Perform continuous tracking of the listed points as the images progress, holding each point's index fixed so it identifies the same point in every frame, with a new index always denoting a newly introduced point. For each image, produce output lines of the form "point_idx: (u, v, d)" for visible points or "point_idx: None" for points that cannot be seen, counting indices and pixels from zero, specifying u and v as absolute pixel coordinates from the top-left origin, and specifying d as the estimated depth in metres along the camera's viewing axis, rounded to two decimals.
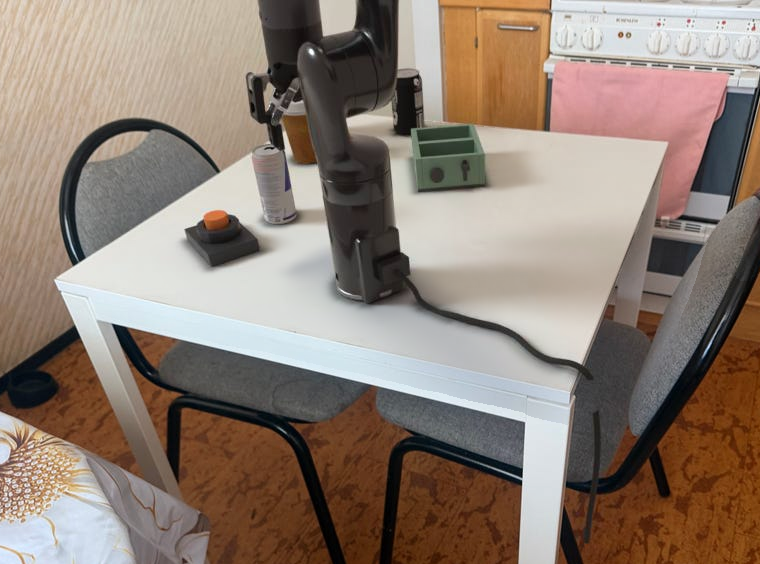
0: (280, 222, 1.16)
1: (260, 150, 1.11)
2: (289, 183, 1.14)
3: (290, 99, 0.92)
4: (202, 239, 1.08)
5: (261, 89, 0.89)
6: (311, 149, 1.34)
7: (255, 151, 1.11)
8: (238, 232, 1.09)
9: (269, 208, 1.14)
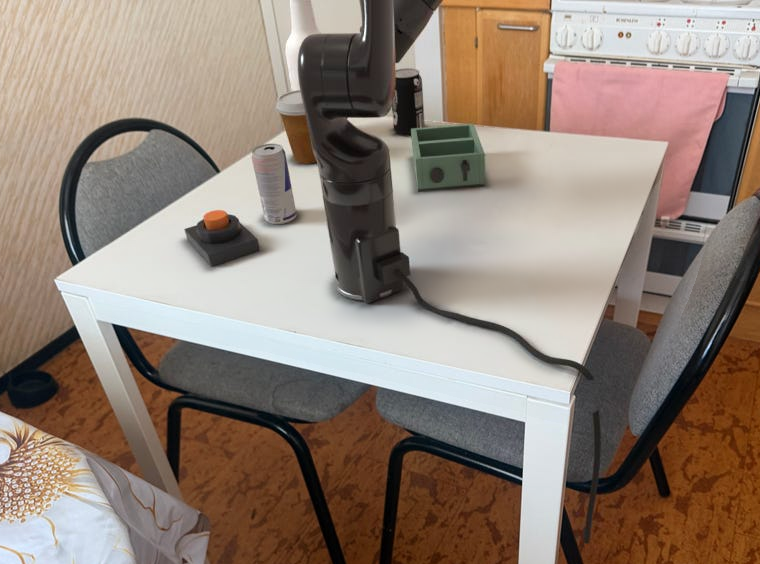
0: (280, 222, 1.16)
1: (260, 150, 1.11)
2: (289, 183, 1.14)
3: None
4: (202, 239, 1.08)
5: None
6: (311, 149, 1.34)
7: (255, 151, 1.11)
8: (238, 232, 1.09)
9: (269, 208, 1.14)
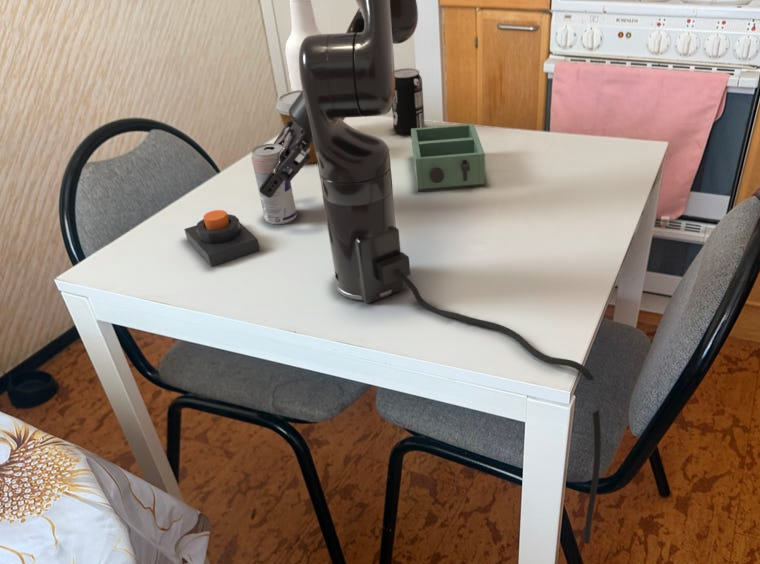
0: (280, 222, 1.16)
1: (260, 150, 1.11)
2: (289, 183, 1.14)
3: (279, 141, 1.12)
4: (202, 239, 1.08)
5: (285, 128, 1.15)
6: (311, 149, 1.34)
7: (254, 151, 1.11)
8: (238, 232, 1.09)
9: (269, 208, 1.14)
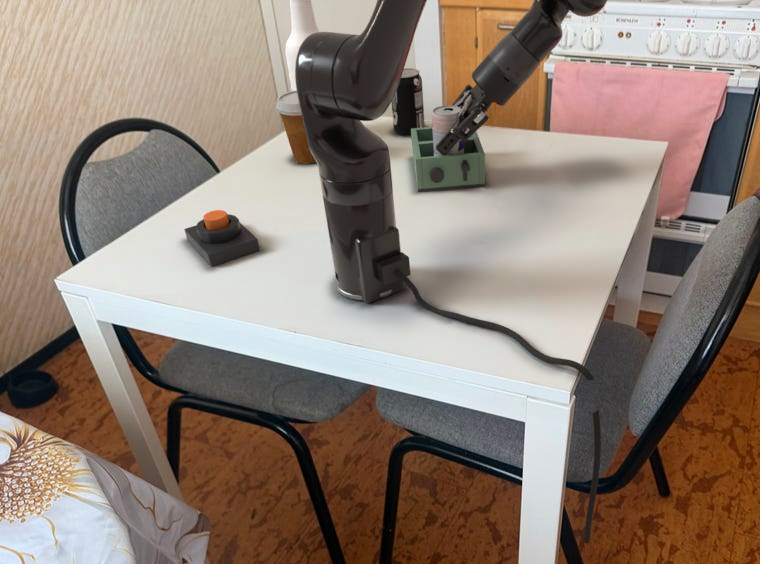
0: None
1: (440, 110, 1.20)
2: (462, 143, 1.22)
3: (458, 103, 1.20)
4: (202, 239, 1.08)
5: (463, 92, 1.23)
6: None
7: (435, 111, 1.20)
8: (238, 232, 1.09)
9: None
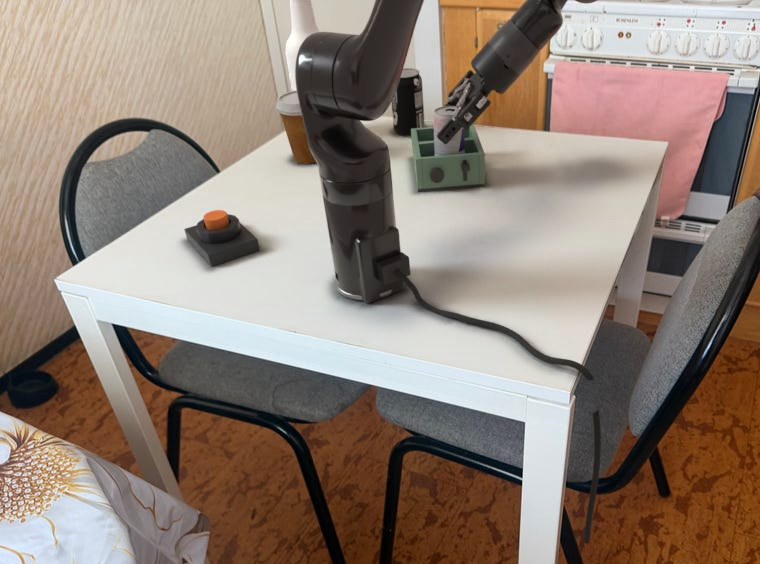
0: None
1: (442, 110, 1.20)
2: (463, 144, 1.22)
3: (458, 90, 1.19)
4: (202, 239, 1.08)
5: (465, 77, 1.22)
6: None
7: (437, 111, 1.20)
8: (238, 232, 1.09)
9: None
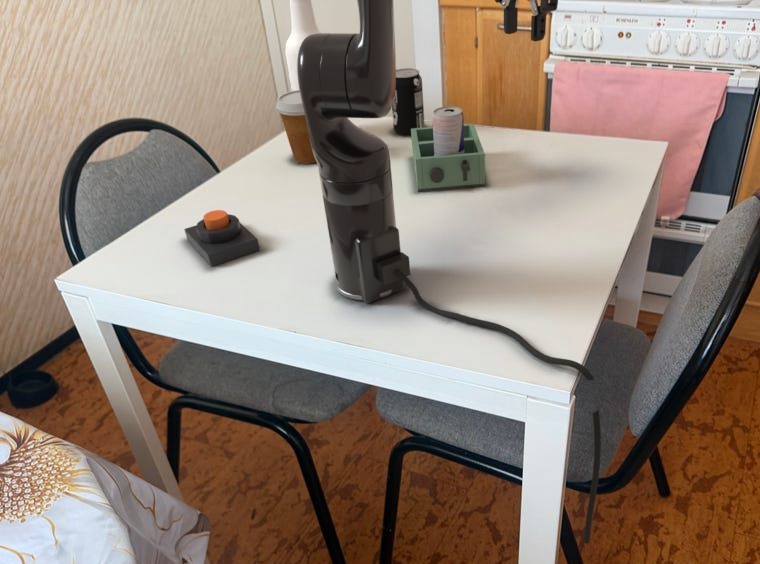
0: None
1: (441, 111, 1.20)
2: (463, 144, 1.22)
3: None
4: (202, 239, 1.08)
5: None
6: (311, 149, 1.34)
7: (436, 112, 1.19)
8: (238, 232, 1.09)
9: None
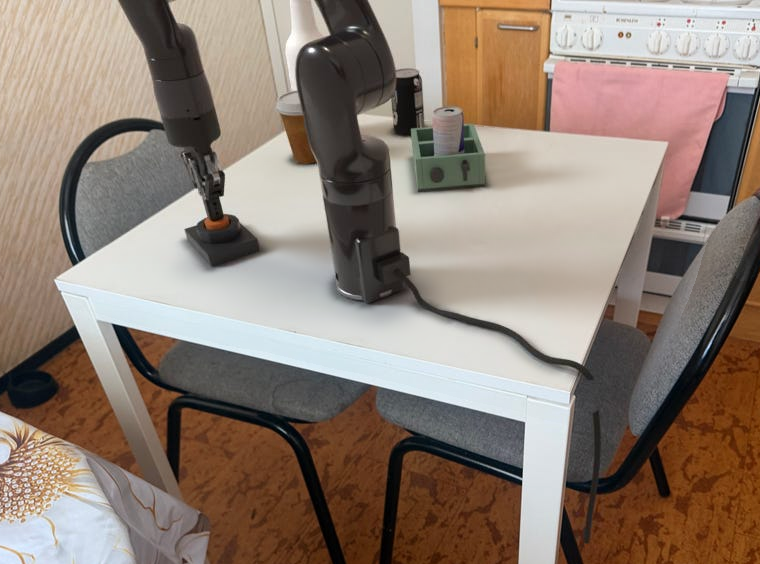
0: None
1: (441, 111, 1.20)
2: (463, 144, 1.22)
3: (191, 172, 1.04)
4: (202, 239, 1.08)
5: (184, 160, 1.06)
6: None
7: (436, 112, 1.19)
8: (238, 232, 1.09)
9: None
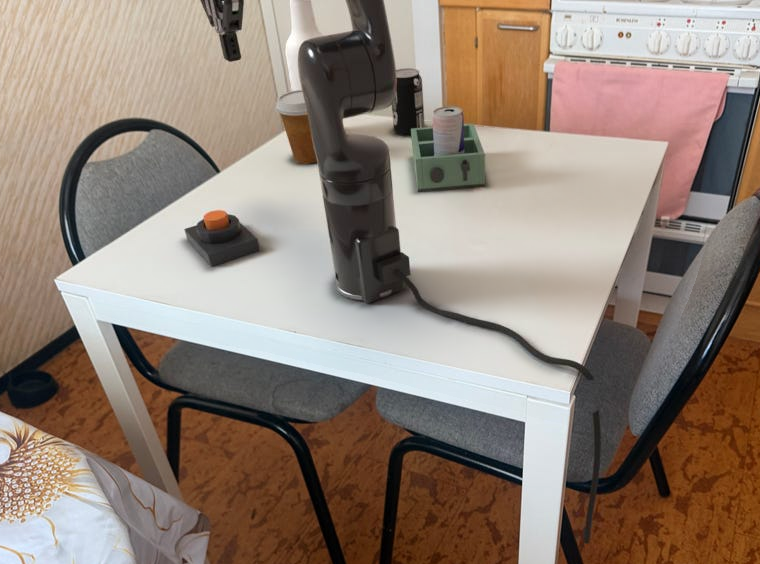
0: None
1: (441, 111, 1.20)
2: (463, 144, 1.22)
3: (207, 4, 1.00)
4: (202, 239, 1.08)
5: None
6: (311, 149, 1.34)
7: (436, 112, 1.19)
8: (238, 232, 1.09)
9: None
